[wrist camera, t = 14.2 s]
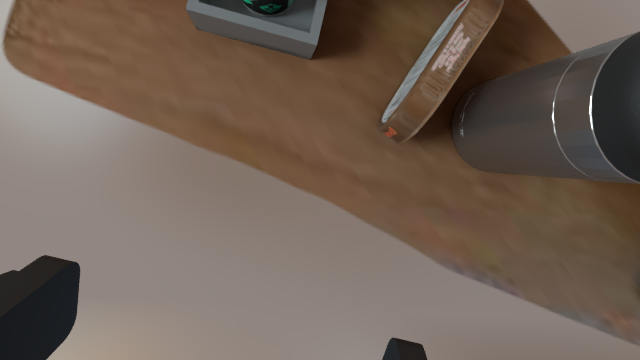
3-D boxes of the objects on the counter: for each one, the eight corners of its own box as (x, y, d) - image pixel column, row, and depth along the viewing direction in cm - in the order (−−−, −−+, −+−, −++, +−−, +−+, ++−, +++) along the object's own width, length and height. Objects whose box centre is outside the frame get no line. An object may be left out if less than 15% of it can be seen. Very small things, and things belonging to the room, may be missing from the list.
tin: (388, 147, 39) (422, 146, 31) (362, 129, 39) (389, 122, 30) (471, 22, 40) (527, -13, 31) (447, 3, 39) (497, -38, 31)
